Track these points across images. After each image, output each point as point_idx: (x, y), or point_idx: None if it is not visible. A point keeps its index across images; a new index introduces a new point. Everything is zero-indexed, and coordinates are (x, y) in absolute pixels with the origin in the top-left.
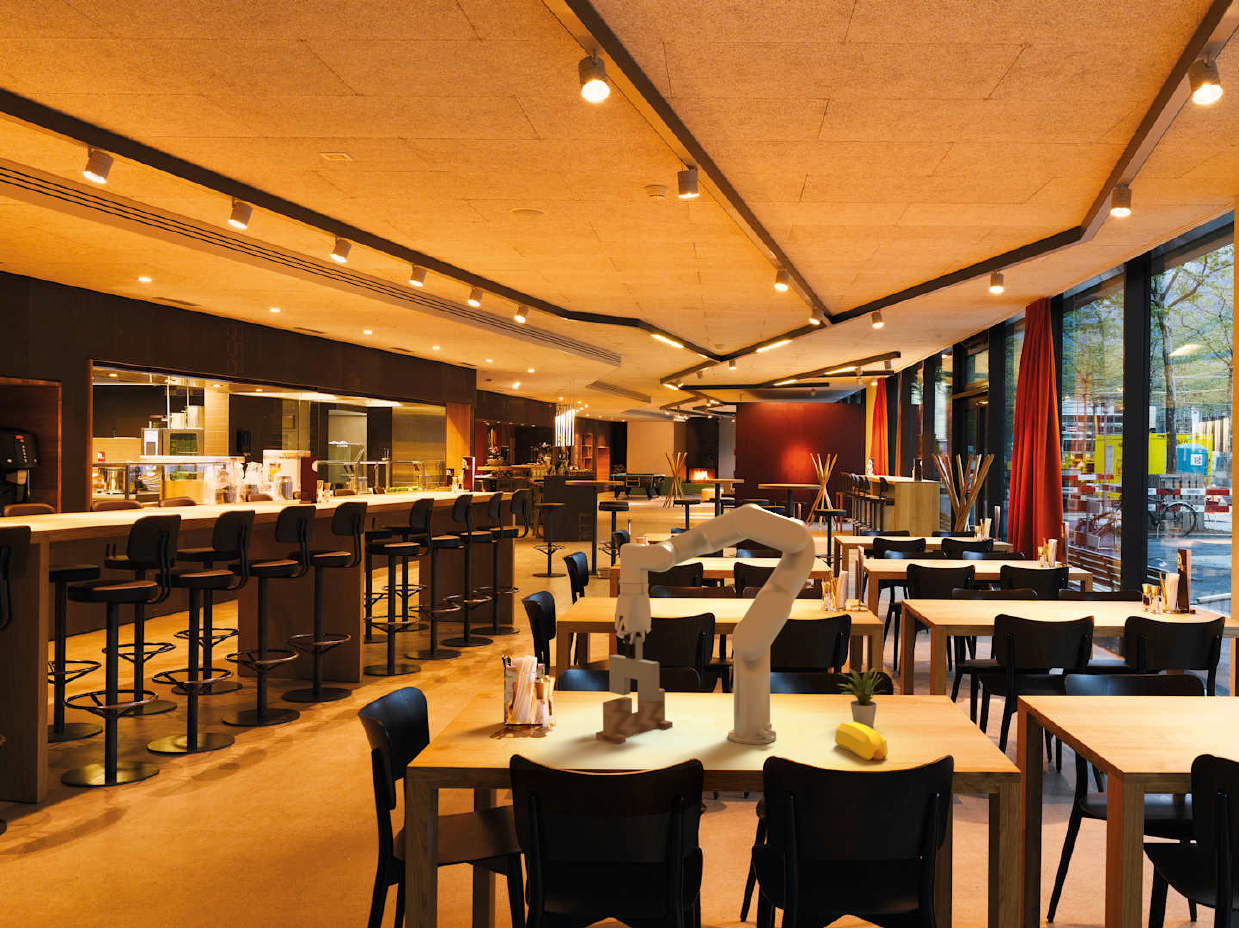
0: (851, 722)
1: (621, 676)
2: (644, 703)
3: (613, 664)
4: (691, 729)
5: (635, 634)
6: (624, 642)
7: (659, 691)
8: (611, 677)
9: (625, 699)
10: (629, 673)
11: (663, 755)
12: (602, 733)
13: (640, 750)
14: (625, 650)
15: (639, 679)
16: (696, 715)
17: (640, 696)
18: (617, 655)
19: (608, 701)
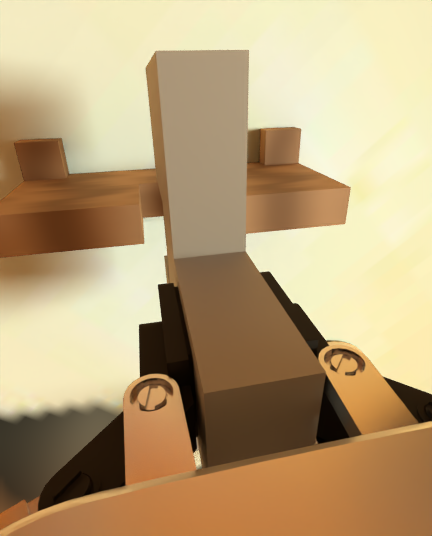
0: None
1: (160, 181)
2: None
3: (157, 110)
4: (301, 261)
5: (343, 421)
6: (130, 398)
7: (312, 226)
8: (150, 85)
9: (105, 244)
10: (168, 253)
11: (87, 368)
12: (31, 167)
13: (65, 314)
14: (139, 344)
15: None
16: (428, 172)
17: (166, 274)
18: (225, 104)
19: (14, 222)
